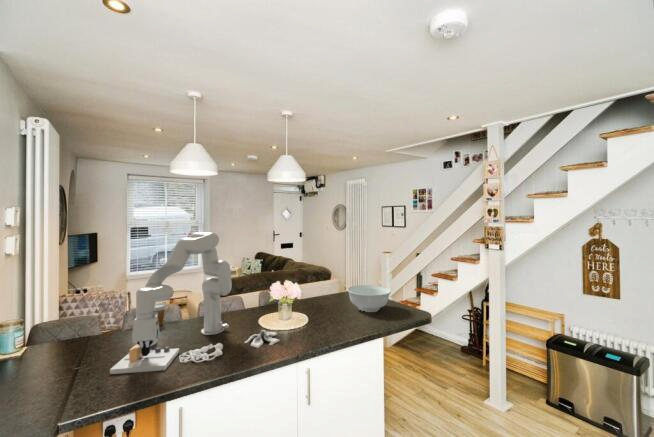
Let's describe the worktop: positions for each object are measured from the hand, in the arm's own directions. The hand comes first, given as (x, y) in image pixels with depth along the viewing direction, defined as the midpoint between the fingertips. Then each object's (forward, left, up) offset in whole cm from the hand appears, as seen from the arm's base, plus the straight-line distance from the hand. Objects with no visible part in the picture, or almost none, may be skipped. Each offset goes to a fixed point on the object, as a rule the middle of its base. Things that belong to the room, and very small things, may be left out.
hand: (145, 355), depth 138 cm
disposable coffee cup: (+15, -53, -4) cm, 55 cm away
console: (-1, 0, -3) cm, 3 cm away
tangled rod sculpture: (-25, -1, -4) cm, 25 cm away
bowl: (-126, -64, -4) cm, 141 cm away
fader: (+4, 0, -1) cm, 4 cm away
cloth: (-51, -18, -4) cm, 54 cm away
